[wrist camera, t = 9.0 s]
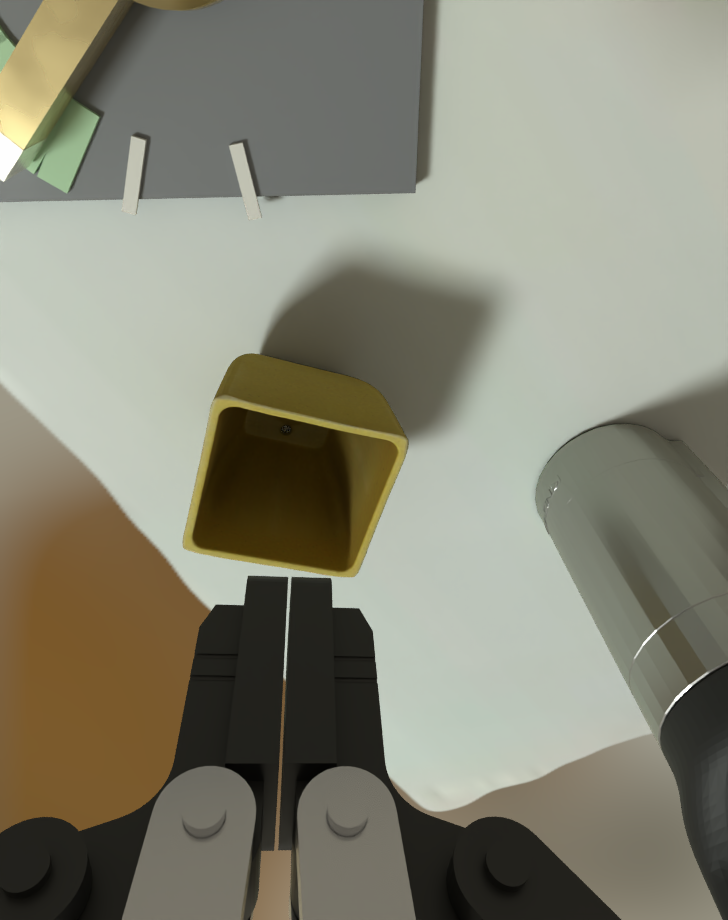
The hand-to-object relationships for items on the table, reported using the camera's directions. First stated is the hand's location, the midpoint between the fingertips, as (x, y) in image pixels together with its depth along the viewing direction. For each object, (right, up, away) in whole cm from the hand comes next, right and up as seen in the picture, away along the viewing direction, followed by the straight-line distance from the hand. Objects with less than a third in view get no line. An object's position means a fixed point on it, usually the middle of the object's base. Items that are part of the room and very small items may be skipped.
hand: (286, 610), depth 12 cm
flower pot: (-3, +6, +26) cm, 27 cm away
